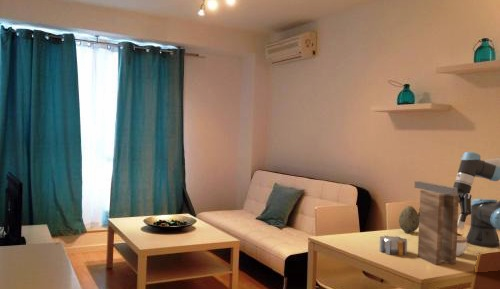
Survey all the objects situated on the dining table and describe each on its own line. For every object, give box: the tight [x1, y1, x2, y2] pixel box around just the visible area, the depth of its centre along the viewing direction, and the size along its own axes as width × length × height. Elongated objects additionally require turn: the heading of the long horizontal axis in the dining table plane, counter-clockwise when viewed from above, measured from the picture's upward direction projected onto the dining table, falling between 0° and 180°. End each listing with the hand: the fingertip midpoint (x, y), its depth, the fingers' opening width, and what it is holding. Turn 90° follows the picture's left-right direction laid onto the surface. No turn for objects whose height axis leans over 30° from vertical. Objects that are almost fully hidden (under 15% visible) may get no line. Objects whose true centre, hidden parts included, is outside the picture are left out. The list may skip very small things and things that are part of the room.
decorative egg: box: [398, 205, 419, 234], centre depth 238 cm, size 11×11×15 cm
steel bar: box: [414, 180, 458, 195], centre depth 187 cm, size 3×24×3 cm, turn 15°
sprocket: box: [379, 235, 408, 256], centre depth 197 cm, size 12×12×6 cm
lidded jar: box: [456, 235, 468, 257], centre depth 196 cm, size 11×11×9 cm
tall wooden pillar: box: [417, 189, 460, 266], centre depth 185 cm, size 10×12×30 cm
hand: (450, 226), depth 201 cm, fingers open, 13 cm apart
